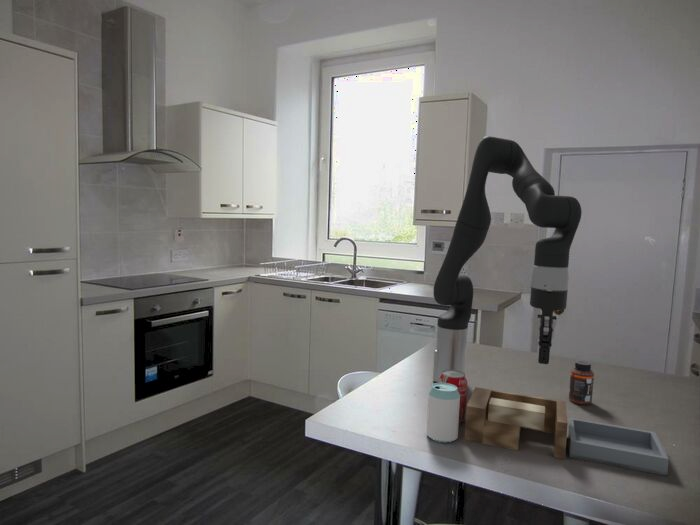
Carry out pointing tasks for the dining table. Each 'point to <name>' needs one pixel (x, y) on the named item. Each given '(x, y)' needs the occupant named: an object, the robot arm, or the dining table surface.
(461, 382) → the soda can
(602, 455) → the tray
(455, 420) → the can
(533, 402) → the open wooden box frame
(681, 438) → the dining table surface
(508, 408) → the slab
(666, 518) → the dining table surface
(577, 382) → the supplement bottle
